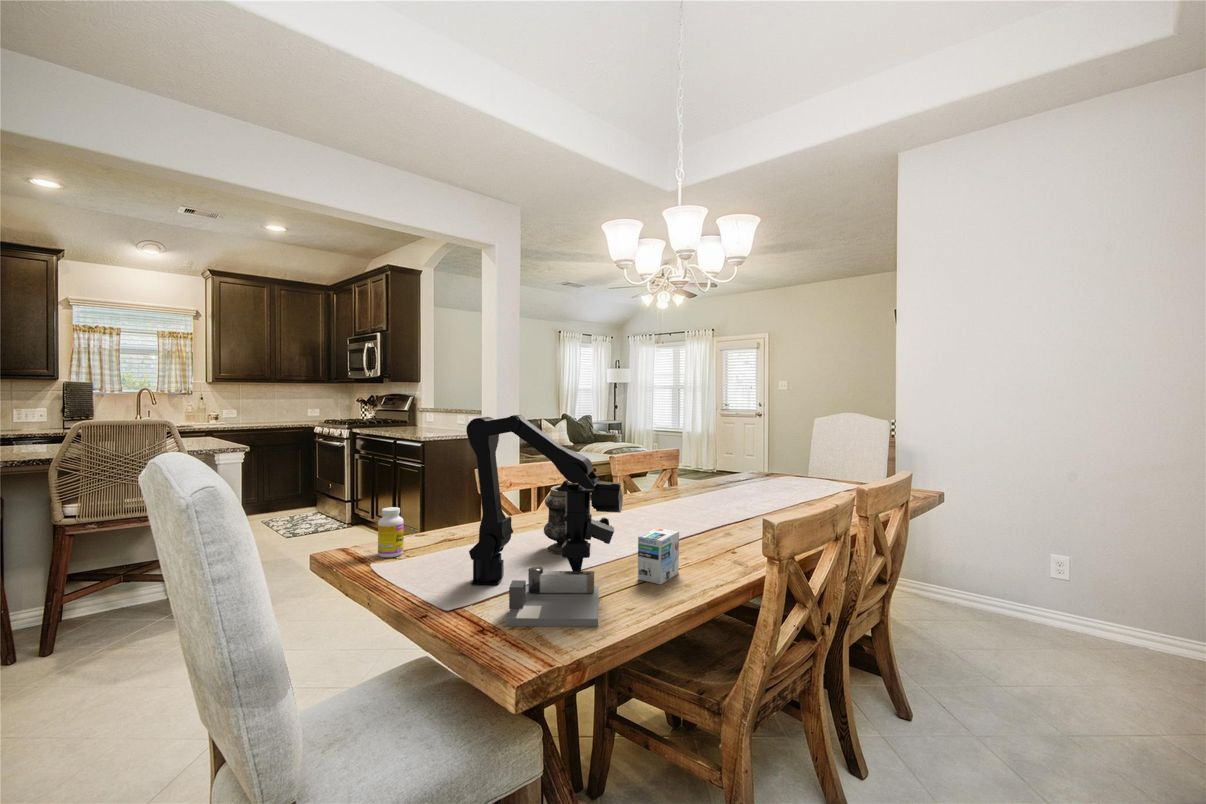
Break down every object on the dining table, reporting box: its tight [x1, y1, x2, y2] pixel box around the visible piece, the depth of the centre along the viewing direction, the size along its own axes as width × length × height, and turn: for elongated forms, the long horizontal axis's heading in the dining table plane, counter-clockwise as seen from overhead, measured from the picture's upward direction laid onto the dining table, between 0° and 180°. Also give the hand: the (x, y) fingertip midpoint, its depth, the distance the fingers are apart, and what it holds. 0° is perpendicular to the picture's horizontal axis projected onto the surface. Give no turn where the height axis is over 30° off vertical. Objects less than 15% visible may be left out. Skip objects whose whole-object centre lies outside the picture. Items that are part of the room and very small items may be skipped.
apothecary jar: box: [543, 485, 569, 555], centre depth 157 cm, size 12×12×18 cm
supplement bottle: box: [377, 506, 405, 559], centre depth 151 cm, size 7×7×13 cm
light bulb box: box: [637, 527, 680, 585], centre depth 136 cm, size 11×7×11 cm, turn 148°
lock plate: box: [506, 579, 600, 627], centre depth 115 cm, size 18×18×6 cm
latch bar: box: [527, 566, 595, 593], centre depth 120 cm, size 15×3×5 cm, turn 90°
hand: (577, 576), depth 127 cm, fingers closed
